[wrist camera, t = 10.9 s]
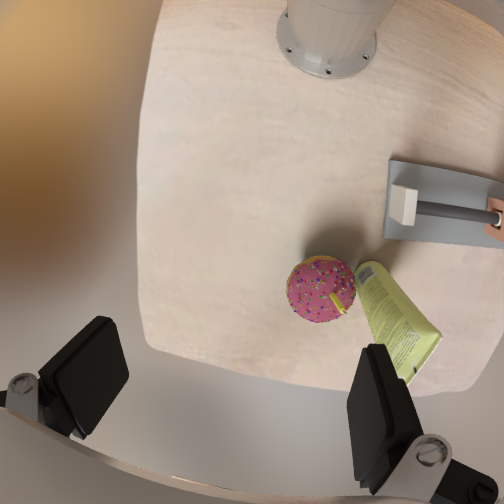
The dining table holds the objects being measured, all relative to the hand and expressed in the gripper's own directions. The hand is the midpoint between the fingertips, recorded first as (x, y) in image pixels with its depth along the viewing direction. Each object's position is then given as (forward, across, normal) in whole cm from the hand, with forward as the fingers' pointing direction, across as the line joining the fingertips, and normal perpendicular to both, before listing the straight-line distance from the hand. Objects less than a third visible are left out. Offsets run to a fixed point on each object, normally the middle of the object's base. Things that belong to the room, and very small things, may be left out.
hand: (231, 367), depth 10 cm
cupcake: (+28, -6, +8) cm, 30 cm away
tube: (+28, -13, +8) cm, 32 cm away
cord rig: (+28, -28, -3) cm, 40 cm away
